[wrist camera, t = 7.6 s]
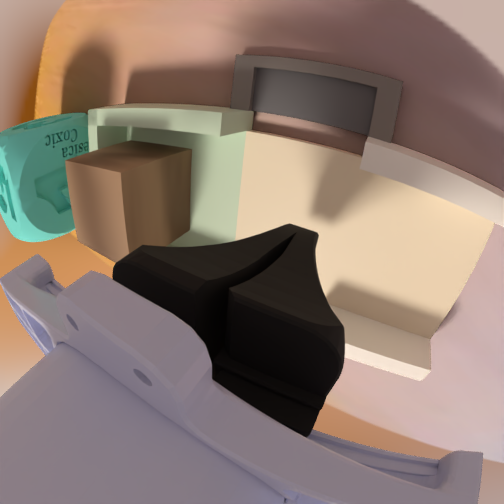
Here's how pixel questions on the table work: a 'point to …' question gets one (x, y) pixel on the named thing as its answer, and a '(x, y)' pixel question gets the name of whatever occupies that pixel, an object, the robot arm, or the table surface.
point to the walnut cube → (130, 196)
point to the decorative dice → (40, 175)
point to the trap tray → (329, 196)
